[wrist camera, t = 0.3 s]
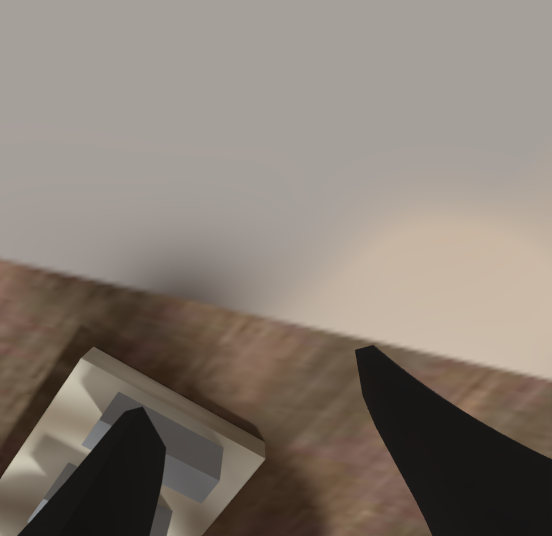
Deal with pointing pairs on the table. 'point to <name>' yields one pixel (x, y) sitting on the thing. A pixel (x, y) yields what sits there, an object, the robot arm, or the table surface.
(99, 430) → the gray parallel rails
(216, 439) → the board
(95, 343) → the table surface
